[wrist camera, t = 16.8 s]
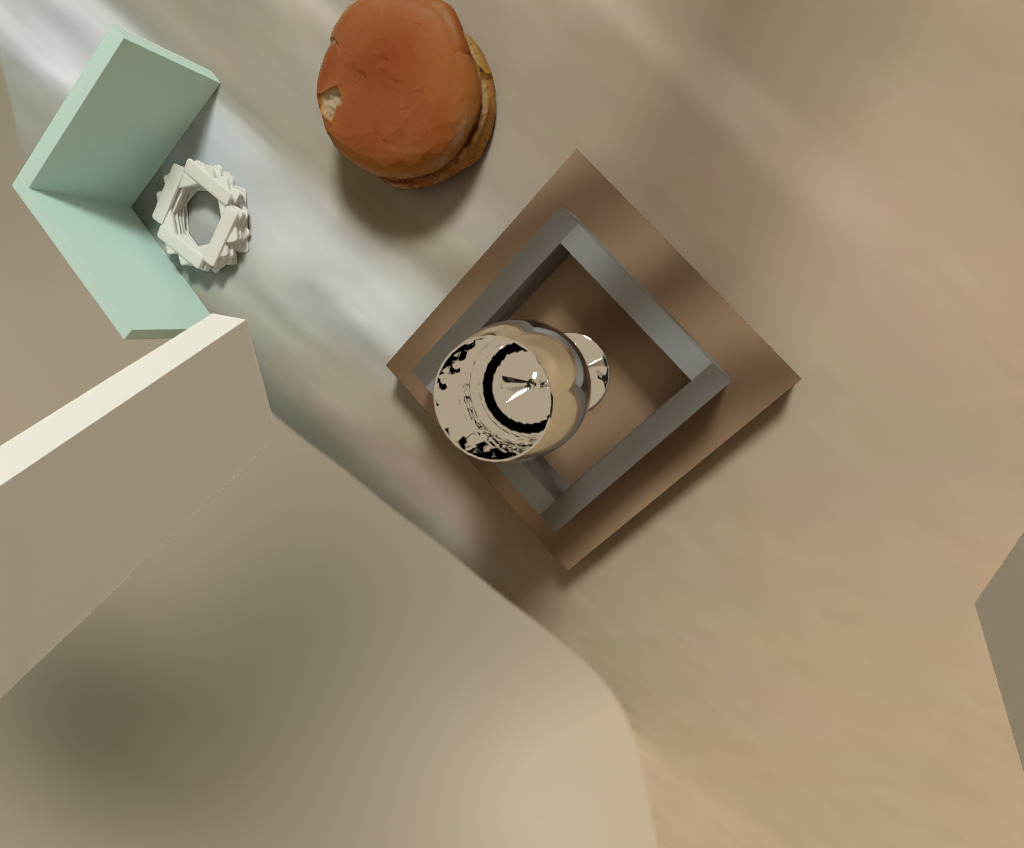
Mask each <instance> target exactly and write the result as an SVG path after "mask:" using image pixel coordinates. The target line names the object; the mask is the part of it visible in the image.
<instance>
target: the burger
mask: <svg viewBox="0 0 1024 848" xmlns="http://www.w3.org/2000/svg"><path fill="white" fill-rule="evenodd" d="M330 40H331V44H330V46H329V48H328V50H327V52H326V54H325V56H324V60H323V63H322V66H321V69H320V72H319V77H318V82H317V99H318V104H319V108H320V110H321V114H322V117H323V121H324V125H325V129H326V131H327V133H328V135H329V137H330V138H331V140H332V142H333V144H334V146H335V147H336V148H337V149H338V150H339V151H340V152H341V153H342V154H343V155H344V156H345V157H346V158H347V159H349V160H350V161H351V162H353V163H354V164H355V165H357V166H359V167H361V168H363V169H364V170H366V171H369V172H371V173H373V174H375V175H378V176H380V178H382V179H384V180H385V182H386V183H388V184H390V185H392V186H393V187H395V188H397V189H414V188H417V189H421V188H423V187H431V186H433V185H436V184H437V183H439V182H441V181H444V180H446V179H448V178H450V177H452V176H454V175H456V174H457V173H459V172H460V171H462V170H463V169H464V168H467V167H470V166H471V165H473V164H474V163H475V162H476V161H477V160H478V159H479V158H480V157H481V155H482V154H483V151H484V149H485V147H486V144H487V142H488V140H489V138H490V135H491V133H492V128H493V125H494V120H495V114H496V99H495V97H496V90H495V86H494V81H493V76H492V73H491V70H490V68H489V65H488V63H487V61H486V59H485V56H484V54H483V53H482V51H481V49H480V48H479V46H478V45H477V44H476V42H475V41H474V40H473V39H472V38H471V37H470V36H468V35H467V34H466V33H464V32H463V27H462V25H461V23H460V20H459V18H458V16H457V14H456V12H455V11H454V9H453V8H452V7H451V5H449V4H447V3H445V2H444V1H442V0H358V1H356V2H355V3H353V4H352V5H350V6H349V7H347V9H346V10H345V11H344V13H343V14H342V16H341V17H340V19H339V20H338V22H337V23H336V25H335V26H334V28H333V31H332V34H331V38H330Z"/></svg>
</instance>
